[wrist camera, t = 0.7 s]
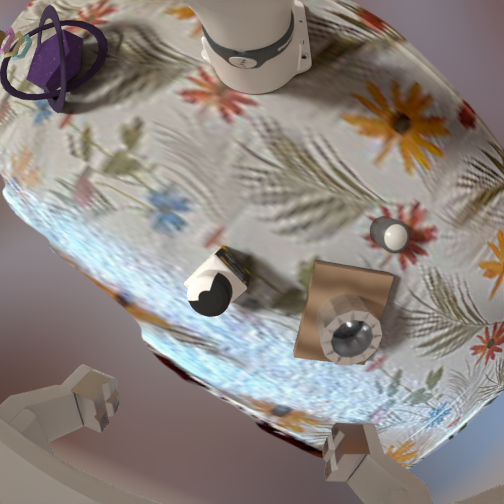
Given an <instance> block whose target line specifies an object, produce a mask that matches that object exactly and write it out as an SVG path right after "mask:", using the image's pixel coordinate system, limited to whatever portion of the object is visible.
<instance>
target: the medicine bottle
mask: <svg viewBox="0 0 504 504" xmlns="http://www.w3.org/2000/svg"><path fill="white" fill-rule="evenodd" d="M250 277H251V274H250V273H249V272H248V270H247V269H246V268H245V267H244V266H243V265H242V264H241V263H240V262H239V261H238V260H237V259H236V258H235V257H234V256H233V255H232V254H231V253H230V252H229V251H228V250H227V249H226V248H225V246H221V247H220V248H219V249H218V250H217V251H216V252H215V253H213V254H212V255H211V256H210V257H209V258H208V259H207V260H206V261H205V262H204V263H203V264H202V265H201V266H200V267H199V268H198V269H197V270H196V271H195V272H194V273H193V274H192V275H191V276H190V277H189V278H188V279H187V280H186V282H185V283H184V285H185V286H186V287H187V288H188V293H187V296H188V301H189V303H190V305H191V307H192V308H193V309H194V310H195V311H196V312H198V313H199V314H201V315H204V316H208V317H213V316H218V315H220V314H222V313H223V312H224V311H225V310H226V309H227V308H228V306H229V304H230V303H231V302H233V301H234V300H235V299H236V298H237V297H238V296H240V295H241V294H242V293H243V292H244V291H245V290H246V289H247V287H248V284H249V281H250Z"/></svg>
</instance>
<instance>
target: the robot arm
mask: <svg viewBox="0 0 504 504" xmlns="http://www.w3.org/2000/svg"><path fill="white" fill-rule="evenodd" d="M179 1H181V2H183V3H184V4H186V5H187V6H188V7H190V8H191V9H192V10H193V11H194V13H195V14H196V16H197V17H198V18H199V20H200V21H201V23H202V29H203V33H204V36H203V37H202V43H203V46H204V48H203V51H202V53H201V55H202V58H203V59H204V60H205V61H206V62H207V63H208V64H210V65H211V66H213V68H214V69H215V71H216V73H217V75H218V76H219V78H220V79H221V80H222V81H223V82H224V83H225V84H226V85H227V86H229V87H230V88H232V89H234V90H236V91H239V92H243V93H248V94H262V93H267V92H271V91H274V90H276V89H278V88H280V87H282V86H283V85H285V84H286V83H287V82H288V81H289V80H290V79H291V78H292V77H294V76H295V75H296V74H299V73H302V72H305V71H307V70H309V69H310V68H311V66H312V62H311V53H310V45H309V37H308V30H307V22H306V16H305V9H304V5H303V3H301V2H299V1H298V0H179ZM300 22H301V23H300ZM303 56H304V57H306V59H302V57H303ZM117 386H118V383H117V379H116V378H114V377H112V376H109V375H107V374H105V373H102V372H100V371H97V370H95V369H92V368H90V367H88V366H86V365H81V366H79V367H78V368H77V369H76V370H75V371H74V372H73V374H71V375H70V376H69V377H68V379H66V380H65V382H63V383H62V384H61V385H60V386H59V385H54V386H50V387H46V388H42V389H38V390H34V391H30V392H25V393H21V394H17V395H12V396H10V397H9V398H7V400H6V401H4V402H3V403H2V404H1V405H0V504H163V503H160V502H157V501H154V500H151V499H148V498H145V497H142V496H139V495H136V494H134V493H131V492H128V491H126V490H123V489H120V488H118V487H116V486H114V485H111V484H109V483H107V482H104V481H102V480H100V479H98V478H96V477H94V476H91V475H89V474H87V473H85V472H83V471H81V470H79V469H78V468H75V467H74V466H72V465H70V464H68V463H66V462H65V461H63V460H61V459H59V458H58V457H56V456H54V453H53V450H52V448H51V446H50V444H49V443H48V442H50V441H52V440H54V439H57V438H59V437H61V436H63V435H66V434H68V433H70V432H72V431H74V430H77V429H79V428H81V427H83V425H84V426H86V427H89V428H91V429H93V430H96V431H98V432H100V433H102V432H103V431H104V429H105V428H106V426H107V425H108V423H109V419H108V417H110V416H113V415H114V414H115V413H116V411H117V409H118V406H119V402H120V397H119V393H118V392H117V391H116V387H117ZM331 431H332V434H331V435H329V436H328V437H327V438H326V441H325V443H324V447H323V459H324V460H325V461H326V462H327V464H326V466H325V467H324V470H325V480H326V481H347V483H348V484H349V486H350V487H351V488H352V489H353V491H354V492H355V493H356V494H357V495H358V497H359V498H360V499H361V500H362V501H363V503H364V504H433V502H432V499H431V496H430V493H429V490H428V487H427V485H426V484H425V483H423V482H422V481H421V480H420V479H418V478H417V477H416V476H414V475H413V474H412V473H411V472H409V471H408V470H407V469H406V468H404V467H403V466H402V465H401V464H399V463H398V462H397V461H396V460H395V459H393V458H392V457H391V456H390V455H388V454H384V452H383V449H382V446H381V443H380V439H379V436H378V433H377V430H376V427H375V425H374V424H373V423H361V424H360V423H335V424H334V425H333V427H332V429H331ZM451 504H504V485H499V486H496V487H494V488H491V489H489V490H487V491H484V492H482V493H479V494H477V495H475V496H472V497H469V498H466V499H463V500H460V501H458V502H454V503H451Z"/></svg>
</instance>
